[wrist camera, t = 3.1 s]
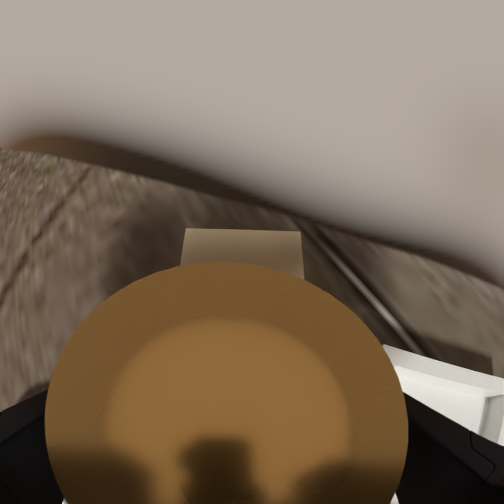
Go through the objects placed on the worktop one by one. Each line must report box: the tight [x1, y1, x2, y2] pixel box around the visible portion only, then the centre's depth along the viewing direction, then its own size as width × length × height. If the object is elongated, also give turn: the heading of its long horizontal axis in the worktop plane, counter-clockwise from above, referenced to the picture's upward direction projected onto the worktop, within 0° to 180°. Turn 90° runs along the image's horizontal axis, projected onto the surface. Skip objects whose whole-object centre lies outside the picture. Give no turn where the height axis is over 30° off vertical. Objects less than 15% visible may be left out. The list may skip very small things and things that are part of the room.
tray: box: [382, 344, 504, 504], centre depth 12 cm, size 12×12×2 cm
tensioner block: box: [180, 228, 304, 280], centre depth 16 cm, size 5×6×6 cm
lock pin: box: [45, 262, 408, 504], centre depth 9 cm, size 5×5×14 cm
